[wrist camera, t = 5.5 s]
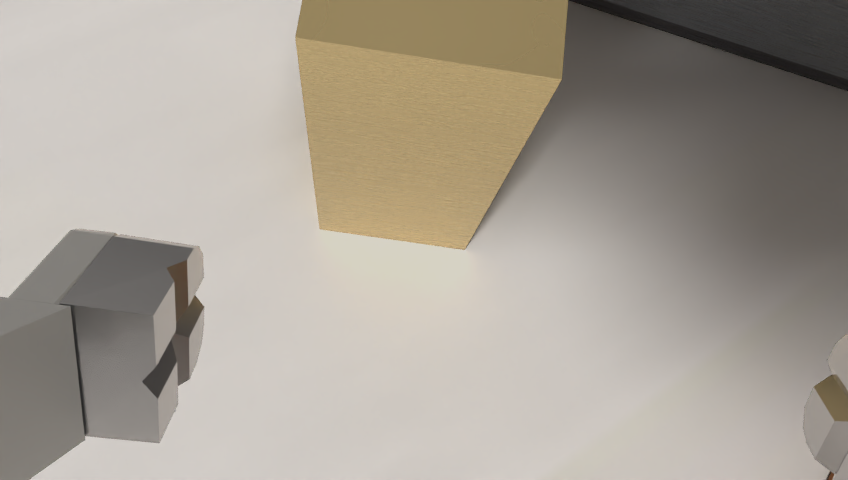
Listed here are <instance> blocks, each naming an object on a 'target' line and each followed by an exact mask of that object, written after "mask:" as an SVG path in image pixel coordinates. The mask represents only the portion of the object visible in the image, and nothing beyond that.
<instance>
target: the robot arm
mask: <svg viewBox="0 0 848 480" xmlns="http://www.w3.org/2000/svg"><path fill="white" fill-rule="evenodd" d="M203 278H204V268H203V253H202V251H201V249H200V247H199V246H194V245H187V244H181V243H174V242H168V241H161V240H155V239H148V238H142V237H135V236H129V235H122V234H120V235H118V234H116V233H111V232H103V231H94V230H86V229H75V230H71V231H69V232H68V233H67V234H66V236H65V237H64V238H63V239H62V240H61V241H60V242H59V243H58V244H57V245H56V246H55V247H54V249H53V250H52V251H51V252H50V253H49V254H48V255H47V256H46V257H45V258H44V259H43V260H42V262H41V263H40V264H39V265H38V266H37V267H36V268H35V269H34V270H33V271H32V272H31V274H30V275H29V276H28V277H27V278H26V279H25V280H24V281H23V282H22V283H21V284H20V285H19V287H18V288H17V289H16V290H15V291H14V292H13V293H12V294H11V295H10V296H9V297H8V298H5V297H0V480H29V479H31V478H32V477H33V476H35V475H36V474H38V473H39V472H40V471H42V470H43V469H45V468H46V467H47V466H49V465H50V464H52V463H53V462H55V461H56V460H57V459H59V458H60V457H62V456H63V455H64V454H66V453H67V452H69V451H70V450H71V449H73V448H74V447H76V446H77V445H79V444H80V443H81V442H83V441H84V440H85V436H91V437H101V438H111V439H122V440H132V441H142V442H153V443H160V441H161V439H162V437H163V435H164V433H165V431H166V428H167V426H168V424H169V422H170V420H171V418H172V416H173V414H174V412H175V409H176V407H177V405H178V386H179V385H180V384H182V383H184V382H186V381H187V380H189V379H190V377H191V375H192V372H193V370H194V368H195V366H196V363H197V359H198V355H199V352H200V348H201V344H202V337H203V328H204V306H203V305H202V304H201V302H200V301H199V300H198V298H197V297H196V296H195V293H196V291H197V289H198V288H199V286H200V284H201V282H202V280H203ZM827 361H828V364H829V367H830V370H831V373H832V375H831V376H829V377H828V378H826V379H825V380H823V381H822V382H820V383H819V384H817V385H816V386H814V387H813V389H812V391H811V394H810V396H809V398H808V400H807V403H806V405H805V407H804V422H803V430H804V434H805V438H806V443H807V445H808V447H809V449H810V451H811V453H812V455H813V456H814V458H815V459H816V460H817V461H818V462H819V463H821V464H822V465H823V466H825V467H826V468H827V469H828V470H830V471H831V472H832V473H834V476H833V479H832V480H848V334H846V335H845V336H843V337H842V338H841V339H840V340H839V341H838V342H837V343H836V344H835V346H834V348H833V349H832V351H831V353H830V355H829V357H828V359H827Z"/></svg>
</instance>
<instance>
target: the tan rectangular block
mask: <svg viewBox="0 0 848 480" xmlns="http://www.w3.org/2000/svg"><path fill="white" fill-rule="evenodd" d="M567 8H568V0H302V5H301V10H300V16H299V21H298V26H297V32H296V37H295V38H296V46H297V54H298V62H299V70H300V78H301V86H302V94H303V101H304V109H305V117H306V125H307V133H308V141H309V149H310V157H311V164H312V172H313V180H314V188H315V196H316V204H317V212H318V220H319V228H320V229H323V230H330V231H337V232H344V233H351V234H358V235H365V236H372V237H379V238H386V239H393V240H400V241H407V242H414V243H421V244H428V245H435V246H442V247H449V248H456V249H463V250H465V248H466V247H467V245H468V243H469V241H470V240H471V238H472V236H473V234H474V233H475V231H476V229H477V227H478V225H479V224H480V222H481V220H482V218H483V217H484V215H485V213H486V211H487V210H488V208H489V206H490V204H491V203H492V201H493V199H494V197H495V196H496V194H497V192H498V190H499V189H500V187H501V185H502V183H503V182H504V180H505V178H506V176H507V175H508V173H509V171H510V169H511V168H512V166H513V164H514V162H515V161H516V159H517V157H518V155H519V154H520V152H521V150H522V148H523V147H524V145H525V143H526V141H527V140H528V138H529V136H530V134H531V133H532V131H533V129H534V127H535V126H536V124H537V122H538V120H539V119H540V117H541V115H542V113H543V112H544V110H545V108H546V106H547V105H548V103H549V101H550V99H551V98H552V96H553V94H554V92H555V91H556V89H557V87H558V85H559V84H560V82H561V80H562V72H563V59H564V46H565V34H566V21H567Z"/></svg>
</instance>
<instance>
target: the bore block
mask: <svg viewBox="0 0 848 480" xmlns="http://www.w3.org/2000/svg"><path fill="white" fill-rule="evenodd" d="M570 1H573V2H576V3H579V4H582V5H585V6H588V7H592V8H595V9H598V10H601V11H604V12H607V13H610V14H613V15H616V16H619V17H622V18H625V19H629V20H632V21H635V22H638V23H641V24H644V25H647V26H650V27H653V28H656V29H659V30H662V31H666V32H669V33H672V34H675V35H678V36H681V37H684V38H687V39H690V40H693V41H696V42H699V43H703V44H706V45H709V46H712V47H715V48H718V49H721V50H724V51H727V52H730V53H733V54H736V55H740V56H743V57H746V58H749V59H752V60H755V61H758V62H761V63H764V64H767V65H770V66H773V67H777V68H780V69H783V70H786V71H789V72H792V73H795V74H798V75H801V76H804V77H807V78H810V79H814V80H817V81H820V82H823V83H826V84H829V85H832V86H835V87H838V88H841V89H844V90H847V91H848V0H570Z"/></svg>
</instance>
